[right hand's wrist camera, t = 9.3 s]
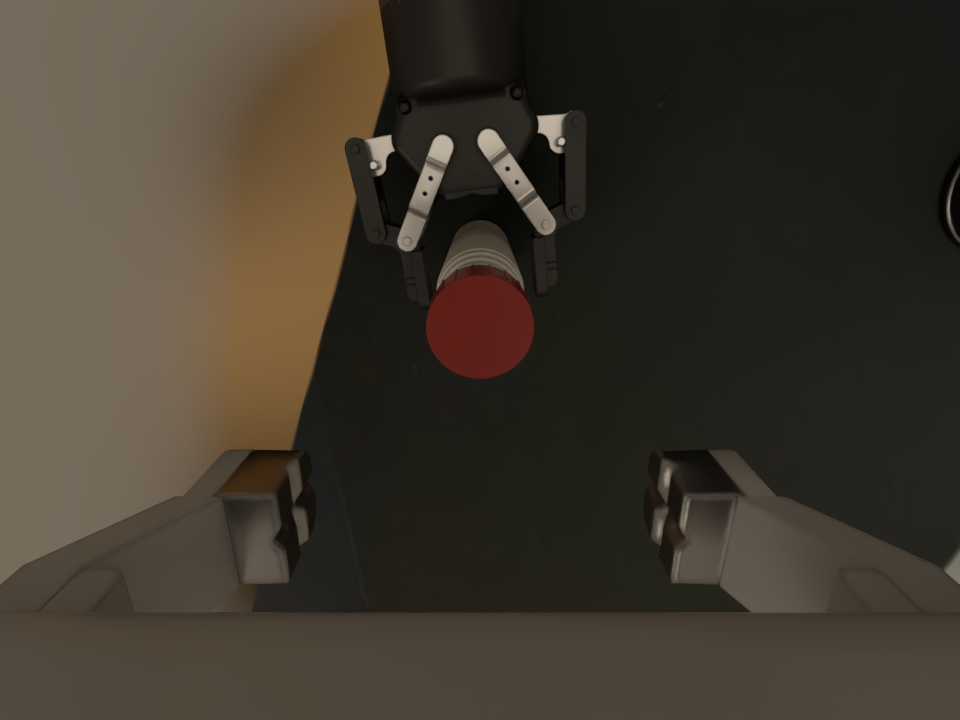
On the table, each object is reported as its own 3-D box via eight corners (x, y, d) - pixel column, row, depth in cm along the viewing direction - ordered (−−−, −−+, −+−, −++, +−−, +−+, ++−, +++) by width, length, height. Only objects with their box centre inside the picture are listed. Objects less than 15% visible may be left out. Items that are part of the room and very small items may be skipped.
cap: (421, 271, 21) (414, 282, 19) (524, 255, 21) (529, 265, 19) (439, 366, 23) (435, 386, 20) (535, 352, 22) (541, 371, 20)
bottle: (447, 224, 38) (414, 279, 19) (504, 215, 38) (529, 262, 19) (456, 281, 40) (435, 384, 21) (512, 273, 40) (541, 369, 21)
